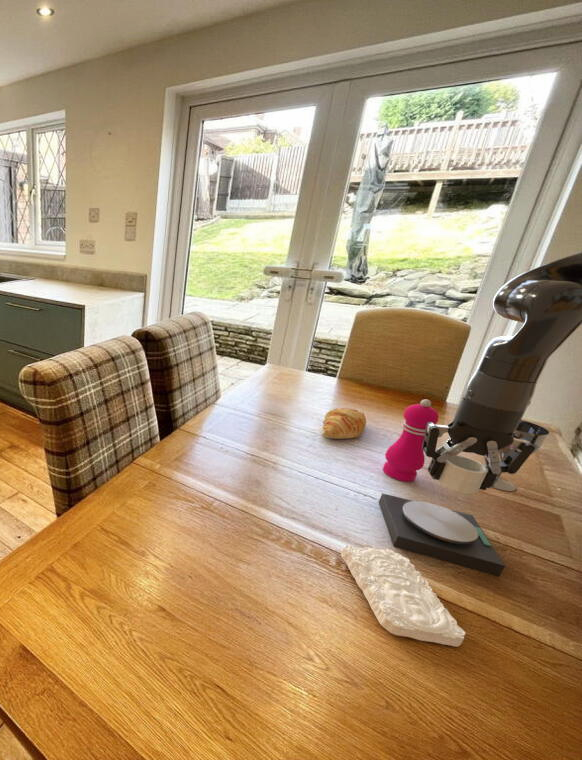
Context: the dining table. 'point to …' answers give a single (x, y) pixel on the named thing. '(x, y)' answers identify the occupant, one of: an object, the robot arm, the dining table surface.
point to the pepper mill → (410, 443)
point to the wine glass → (524, 430)
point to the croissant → (343, 423)
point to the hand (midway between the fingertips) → (456, 481)
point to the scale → (439, 540)
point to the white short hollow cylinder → (462, 475)
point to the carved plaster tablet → (401, 596)
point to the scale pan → (440, 522)
